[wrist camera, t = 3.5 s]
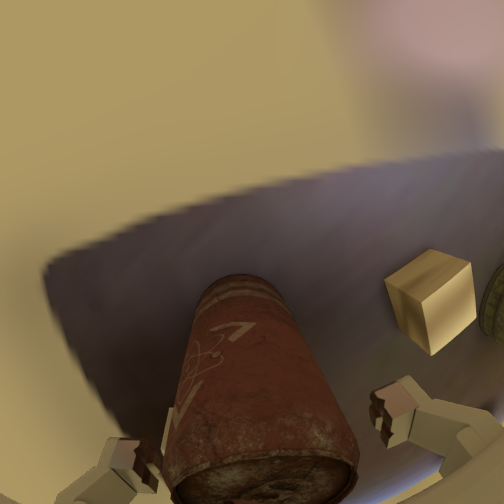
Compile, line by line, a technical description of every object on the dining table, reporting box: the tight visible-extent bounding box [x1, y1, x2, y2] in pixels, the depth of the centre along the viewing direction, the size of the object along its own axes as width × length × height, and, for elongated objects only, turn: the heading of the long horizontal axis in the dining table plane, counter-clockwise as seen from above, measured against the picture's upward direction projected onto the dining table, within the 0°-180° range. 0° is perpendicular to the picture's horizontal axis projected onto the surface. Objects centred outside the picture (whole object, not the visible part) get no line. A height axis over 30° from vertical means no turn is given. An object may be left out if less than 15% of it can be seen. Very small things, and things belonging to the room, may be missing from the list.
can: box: [162, 275, 360, 504], centre depth 12 cm, size 6×6×14 cm
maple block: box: [384, 249, 476, 356], centre depth 18 cm, size 5×5×5 cm
